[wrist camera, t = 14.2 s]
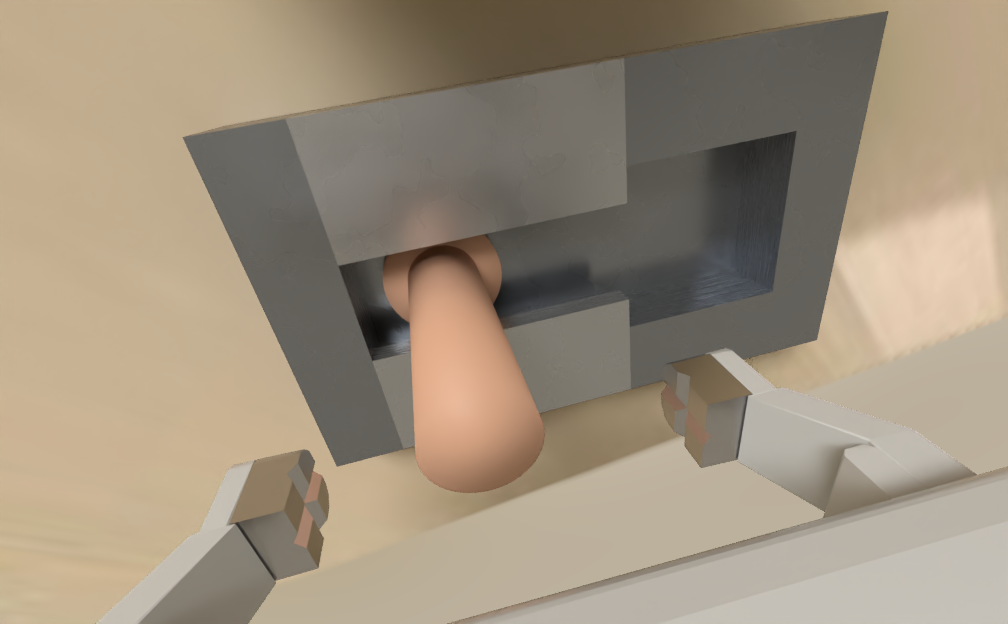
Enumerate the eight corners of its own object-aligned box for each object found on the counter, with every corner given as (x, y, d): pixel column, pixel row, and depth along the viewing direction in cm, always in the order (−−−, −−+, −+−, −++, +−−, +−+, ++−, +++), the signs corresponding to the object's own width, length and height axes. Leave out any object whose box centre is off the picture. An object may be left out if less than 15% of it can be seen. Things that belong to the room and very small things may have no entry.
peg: (487, 204, 19) (577, 327, 9) (505, 307, 21) (590, 489, 12) (368, 228, 19) (336, 385, 9) (400, 331, 21) (402, 544, 11)
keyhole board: (808, 22, 19) (888, 11, 16) (766, 308, 26) (816, 339, 23) (223, 126, 17) (182, 137, 13) (345, 414, 23) (337, 466, 20)
